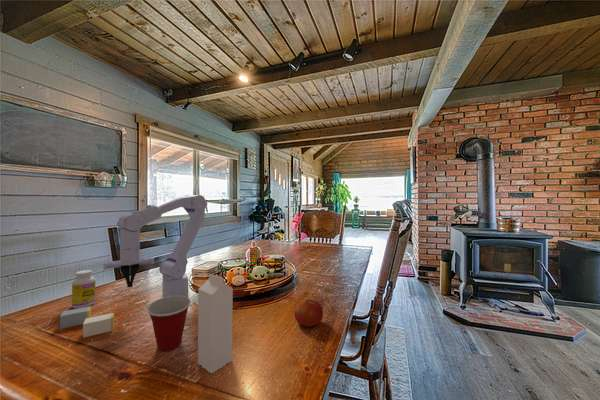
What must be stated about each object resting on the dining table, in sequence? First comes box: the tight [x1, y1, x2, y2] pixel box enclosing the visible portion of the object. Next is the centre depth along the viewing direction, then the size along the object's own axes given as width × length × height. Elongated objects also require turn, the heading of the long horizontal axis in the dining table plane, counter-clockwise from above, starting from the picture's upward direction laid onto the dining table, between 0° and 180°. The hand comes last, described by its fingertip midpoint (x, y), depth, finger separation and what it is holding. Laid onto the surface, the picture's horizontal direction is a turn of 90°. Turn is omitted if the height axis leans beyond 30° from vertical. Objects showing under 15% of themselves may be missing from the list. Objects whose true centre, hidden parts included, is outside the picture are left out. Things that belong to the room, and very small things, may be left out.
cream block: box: [82, 312, 115, 338], centre depth 75 cm, size 4×4×7 cm
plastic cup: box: [146, 295, 192, 352], centre depth 68 cm, size 11×11×12 cm
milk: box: [197, 273, 234, 375], centre depth 61 cm, size 6×6×22 cm
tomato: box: [294, 298, 324, 327], centre depth 80 cm, size 9×9×8 cm
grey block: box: [59, 305, 92, 330], centre depth 79 cm, size 4×4×7 cm
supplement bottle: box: [71, 269, 96, 309], centre depth 92 cm, size 7×7×13 cm
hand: (130, 286), depth 85 cm, fingers closed
